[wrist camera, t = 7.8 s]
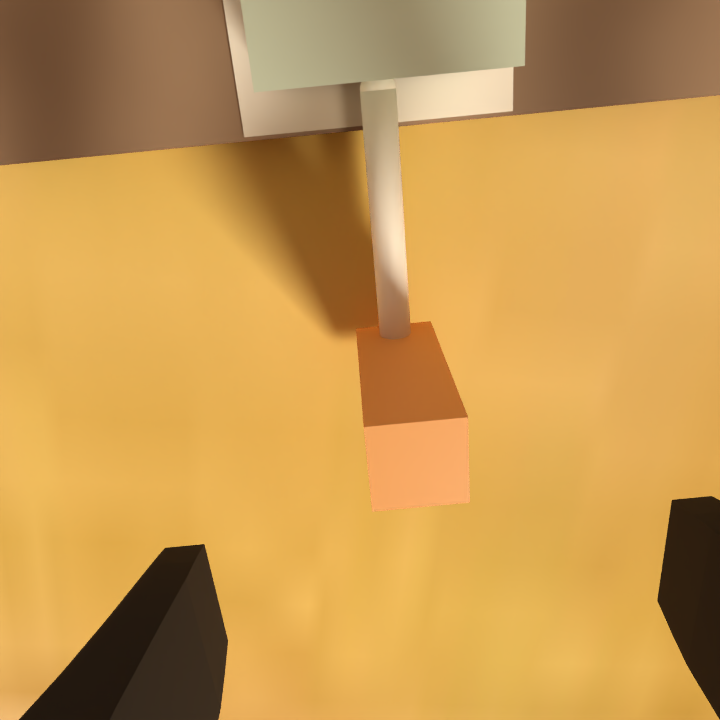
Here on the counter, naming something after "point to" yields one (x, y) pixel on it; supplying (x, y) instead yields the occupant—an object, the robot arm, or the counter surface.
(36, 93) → the lane shelf
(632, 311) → the counter surface
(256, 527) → the counter surface
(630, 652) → the counter surface
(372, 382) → the rod with orange block
